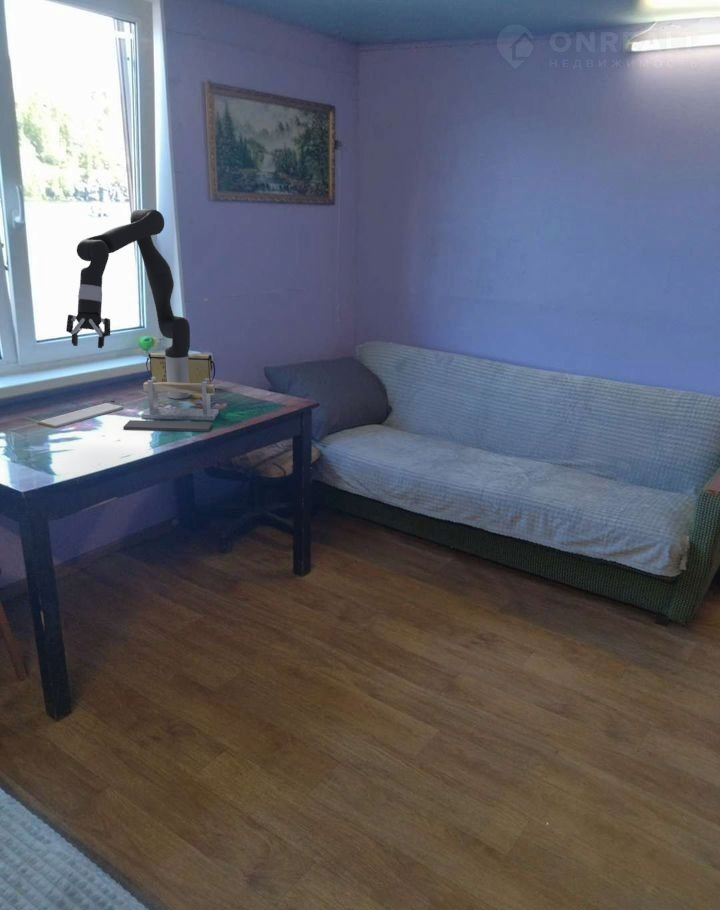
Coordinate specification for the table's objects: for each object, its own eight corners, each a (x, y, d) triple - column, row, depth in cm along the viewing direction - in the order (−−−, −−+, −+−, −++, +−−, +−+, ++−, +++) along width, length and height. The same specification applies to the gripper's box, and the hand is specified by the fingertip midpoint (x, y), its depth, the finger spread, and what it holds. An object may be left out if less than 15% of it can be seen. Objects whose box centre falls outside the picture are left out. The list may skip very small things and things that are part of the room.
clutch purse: (217, 385, 314) (215, 352, 309) (214, 389, 307) (213, 355, 302) (150, 383, 313) (148, 350, 308) (146, 387, 306) (143, 353, 301)
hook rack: (148, 410, 272) (146, 375, 267) (218, 412, 273) (217, 377, 268) (141, 418, 263) (138, 381, 258) (213, 420, 263) (212, 384, 259)
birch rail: (145, 389, 266) (145, 381, 265) (214, 391, 266) (214, 383, 265) (143, 391, 263) (143, 383, 262) (213, 393, 263) (213, 385, 262)
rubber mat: (130, 422, 257) (129, 420, 257) (212, 425, 258) (212, 422, 257) (123, 429, 249) (123, 426, 249) (208, 431, 250) (208, 429, 250)
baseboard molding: (33, 423, 254) (55, 429, 249) (32, 416, 253) (54, 421, 248) (102, 405, 280) (123, 410, 274) (101, 398, 279) (123, 403, 273)
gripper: (114, 302, 244) (111, 349, 246) (73, 298, 244) (71, 345, 246) (107, 300, 237) (104, 348, 238) (64, 296, 237) (62, 344, 238)
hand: (87, 347), depth 242 cm, fingers open, 8 cm apart
